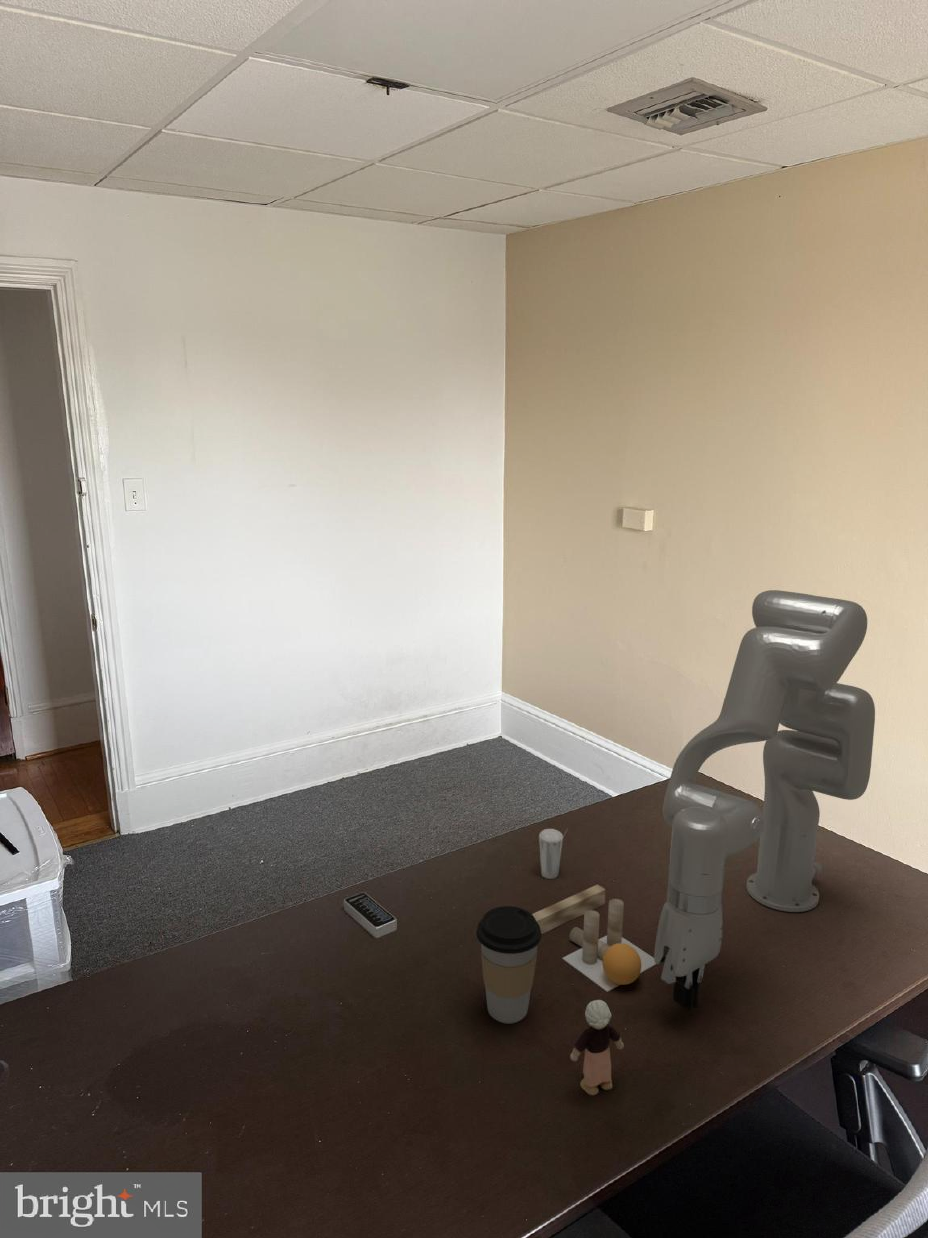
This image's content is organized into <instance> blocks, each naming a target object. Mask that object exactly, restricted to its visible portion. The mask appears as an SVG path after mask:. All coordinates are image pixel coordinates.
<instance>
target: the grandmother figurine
mask: <svg viewBox="0 0 928 1238" xmlns="http://www.w3.org/2000/svg"><path fill="white" fill-rule="evenodd" d="M584 1015H585V1019H586V1022H587V1024H589V1027H588V1028H586V1029H584V1031H583V1032H582V1033H581V1034H580V1036H579V1037H578V1039H577V1040H576V1042H575V1044H574V1046H573V1048H572V1052H570V1055H569V1058H570V1060H571V1061H573V1062H577V1061H578V1059H579V1057H580V1055H581V1053H582V1052H584V1060H583V1067H582V1074H583V1078H582V1079H581V1080H580V1085H579V1086H580V1088H581V1089H582V1090H583V1091H585V1092H586V1094H587V1095H589V1096H595V1095H598V1094H599V1092H600V1091H599V1088H598V1086H600V1088H601V1089H603V1090H606V1091H607V1090H612V1089H613V1080H612V1061H611V1052H610V1051H611V1050H610V1040H611V1041H613V1043H614V1045H615V1047H616V1048H617V1049H618V1050H623V1049H624V1046H625V1045H624V1042H623V1040H622V1037H621V1035H620V1033H619V1032H618V1030H617V1029H615V1027H613V1026H612V1025H610V1024H609V1023H610V1021H611V1019H612V1012H611V1011H610V1008H609V1006H608V1003H606V1002H605V1001H604V1000H602V999H595V1000H592V1001H590V1002H589V1003H588V1004H587V1006H586V1008H585V1013H584Z"/></svg>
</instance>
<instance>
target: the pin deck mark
mask: <svg viewBox="0 0 928 1238" xmlns="http://www.w3.org/2000/svg"><path fill="white" fill-rule="evenodd" d="M598 939H599V940H600V941H602V942H604V943H606V944H607V935H604V936H603V937H601V938H598ZM621 943H624V944H627V945H630V946H631V947H633V948H634V949H635V950H636V951H637V953H638V954H639V956H640V959H641V972H640V974H642V973H644V972H646V971H648V970H649V969H651V968H652V967H654V966H657V964H656V963H655V961H654V956H651V955H650V954H648V953H647V952H645V951H644V950H643V949H641V948H639V947H638V946H637V945H635V944H634V943H632V942H630V941H629V940H627V939H625V938H624V937H623V936H622V942H621ZM582 953H583V947H580V948H578V949H577V950H575V951H573V952H571V953H569V954H567V955H566V956H563V957H562V960H563V961H565V962H566V963H567V964H568V965H569V966H571V967H572V968H574V969H575V970H576V971H578V972H579V973H581V974H582V975H583V976H585V977H586V978H587V979H589V980H591V981H592V982H593V983H594V984H596V985H597V986H599V988H601V989H602V990H604V992H607V993H608V992H610V991H612V990H613V989H616V988H617V987H619V986H620V985H621V984H617V983H614V982H613V981H611V980H610V979H609V978H608V977H607V975H606V974H605V972H604V969H603V965H602V961H603V959H601V958H600V957H598V956H597V962H596V963H595V964H593V965H589V964H586V963H584V962H583V961H582ZM621 986H622V985H621Z"/></svg>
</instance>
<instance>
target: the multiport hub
mask: <svg viewBox="0 0 928 1238" xmlns="http://www.w3.org/2000/svg"><path fill="white" fill-rule="evenodd" d="M343 911H345V912H346V913H347V914H348V915H349V916H351V918H352V919H353V920H354V921H356V922H357V923H358V925H360V926H361V927H362V928H364V929H365V930H366V931H367V932H368V933H369V934H370V935H371V936H373V937H374V938H375V939H377V938H380V937H383V936H385V935H387V934H390V933H392V932H395V931H397V929H398V928H397V927H398V923H397V922H398V921H397V920H398V919H397V918H396V917H395V916H394V915H393V914H392V913H390V912H389V911H388V910H386V909H385V908H384V907H383V906H382V905H381V904H379V903H378V902H377V901H376V900H375V899H374V898H372V897H371V896H370V895H369V894H368V893H366V892H365V891H364V892H359V893H357V894H355V895H352V896H349V897H346V898H344V899H343Z"/></svg>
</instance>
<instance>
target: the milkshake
mask: <svg viewBox="0 0 928 1238" xmlns="http://www.w3.org/2000/svg"><path fill="white" fill-rule="evenodd" d="M567 831H568V828H566V831H564V833H562V832H561V831H560V830H557V829H555V828H545V829H542V830H541V832H540V833H539V834H538V841H539V857H540V858H539V859H540V872H541V873H540V874H541V876H542V877H543V878H544V879H550V880H552V879H557V877H559V872H560V863H561V857H562V856H561V855H562V849H563V841H564V837H565V835H566V834H567ZM563 834H564V835H563Z"/></svg>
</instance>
